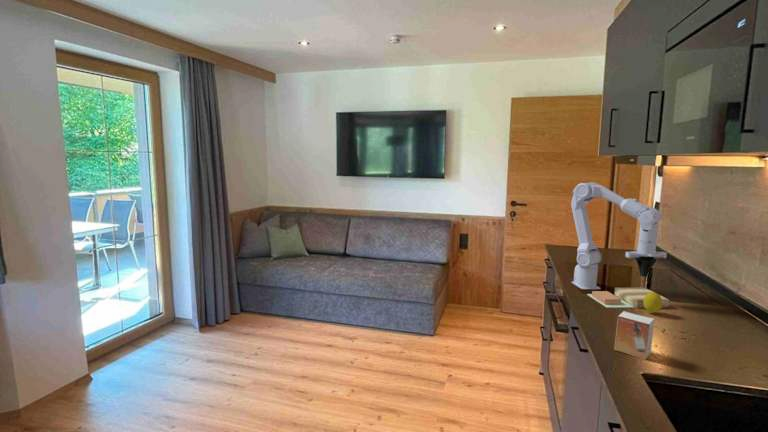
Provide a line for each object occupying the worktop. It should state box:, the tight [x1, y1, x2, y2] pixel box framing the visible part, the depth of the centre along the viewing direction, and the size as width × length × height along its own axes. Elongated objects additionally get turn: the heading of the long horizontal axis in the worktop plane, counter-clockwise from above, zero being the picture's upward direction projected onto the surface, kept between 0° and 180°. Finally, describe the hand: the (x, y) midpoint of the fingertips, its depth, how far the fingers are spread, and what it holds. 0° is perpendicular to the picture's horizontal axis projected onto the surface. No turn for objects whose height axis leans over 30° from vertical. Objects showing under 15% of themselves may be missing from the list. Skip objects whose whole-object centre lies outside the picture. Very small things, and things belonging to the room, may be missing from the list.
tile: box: [591, 290, 621, 304], centre depth 156 cm, size 9×6×2 cm, turn 2°
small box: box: [613, 310, 656, 360], centre depth 115 cm, size 8×6×10 cm
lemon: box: [643, 291, 662, 314], centre depth 144 cm, size 6×6×8 cm
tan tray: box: [613, 287, 670, 309], centre depth 156 cm, size 14×12×3 cm
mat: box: [586, 293, 635, 309], centre depth 156 cm, size 14×10×1 cm
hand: (643, 275), depth 155 cm, fingers closed
